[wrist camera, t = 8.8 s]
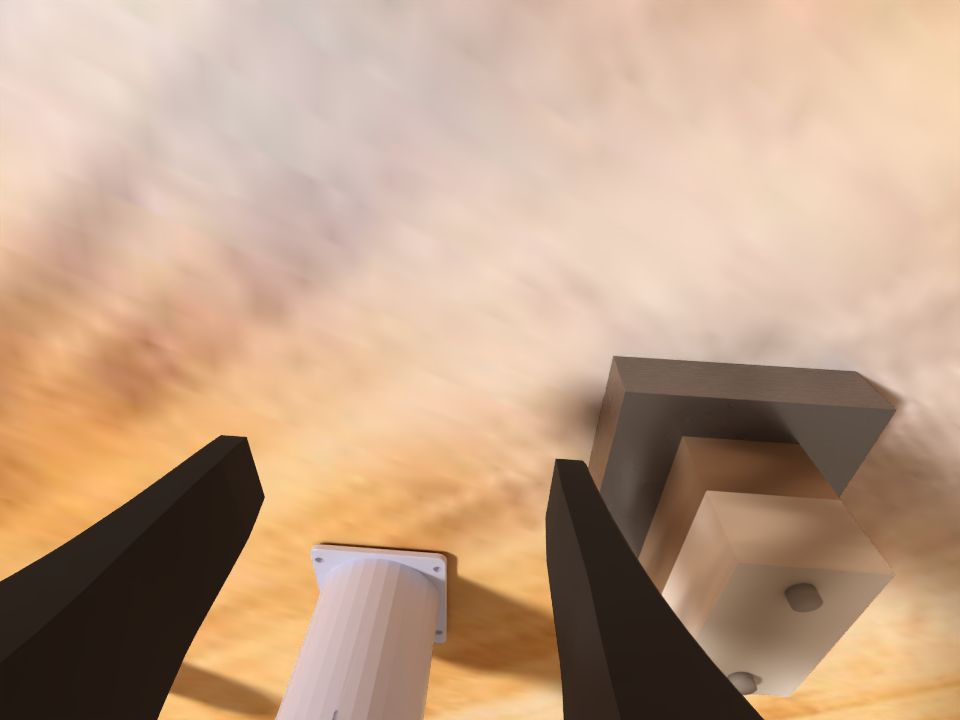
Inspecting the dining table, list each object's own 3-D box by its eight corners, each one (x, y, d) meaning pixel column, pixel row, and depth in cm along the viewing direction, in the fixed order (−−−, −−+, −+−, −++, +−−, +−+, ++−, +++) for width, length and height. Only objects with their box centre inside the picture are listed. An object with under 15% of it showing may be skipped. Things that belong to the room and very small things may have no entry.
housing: (800, 444, 19) (904, 587, 14) (733, 566, 23) (794, 709, 18) (682, 436, 19) (743, 575, 14) (638, 559, 23) (672, 698, 18)
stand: (760, 539, 26) (782, 583, 24) (575, 526, 26) (580, 567, 24) (855, 371, 20) (896, 409, 18) (613, 356, 20) (625, 391, 18)
